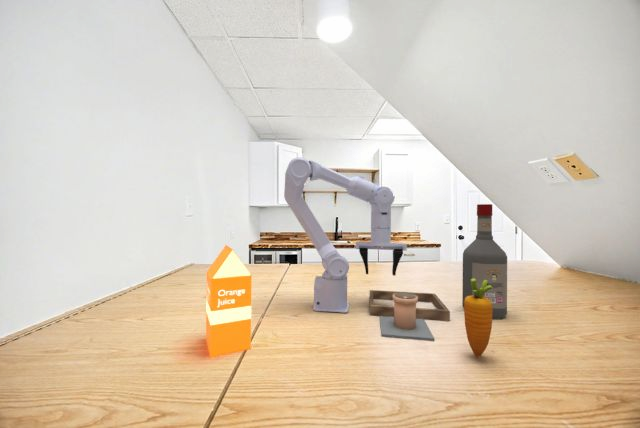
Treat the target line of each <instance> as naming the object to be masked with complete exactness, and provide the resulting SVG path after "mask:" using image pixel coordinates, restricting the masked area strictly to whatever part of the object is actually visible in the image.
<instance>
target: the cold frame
mask: <svg viewBox="0 0 640 428" xmlns="http://www.w3.org/2000/svg"><path fill="white" fill-rule="evenodd" d="M394 293H410V294H414V295H416V296H418V302H417V303H419V302H420V303H432V304H433V306H434V307H435V308H423V307H416V319H424V320H429V321H431V320H432V321H444V322H450V321H451V311H450V309H449V308H448V307H447V306H446V305H445V304H444V303H443V301H442V300H441V299H440V297H438V295H437V294H436V293H431V292H414V291H413V292H411V291H396V290H395V291H393V290H377V289H376V290H375V289H369V316H373V317H374V316H376V317H380V316H384V317H394V305H380V304H379V305H378V304H377V305H376V304H375V303H374V300H387V301H393V299H392V295H393V294H394Z"/></svg>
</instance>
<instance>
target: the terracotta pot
mask: <svg viewBox="0 0 640 428" xmlns="http://www.w3.org/2000/svg"><path fill="white" fill-rule="evenodd" d="M392 299H393V300H392V301H393V306H394V326H396V327H397V328H400V329H405V330H412V329H415V328H416V308H417V303H419V302H418V296H416V295H414V294H410V293H394V294H393V295H392Z"/></svg>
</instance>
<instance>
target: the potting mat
mask: <svg viewBox="0 0 640 428" xmlns="http://www.w3.org/2000/svg"><path fill="white" fill-rule="evenodd" d="M379 325H380V331H381V332H380V333H381V337H384V338H385V337H386V338H394V339H408V340H417V341H419V340H420V341H430V342H431V341H432V342H434V341H435V337H434V335H433V333H432V332H431V329H430V328H429V325H428V324H427V322H426V319H416V328H415V329H412V330H405V329H400V328H397V327H396V326H394V317H386V316H379Z"/></svg>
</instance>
